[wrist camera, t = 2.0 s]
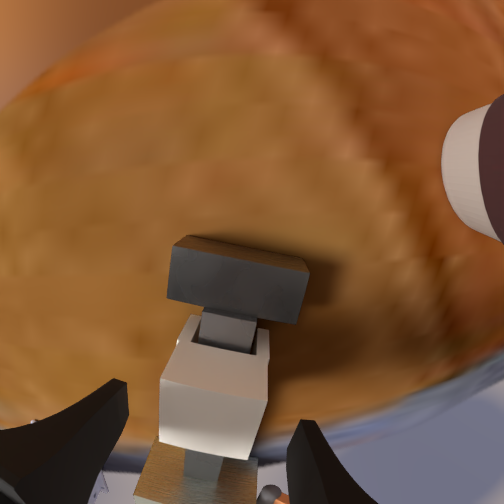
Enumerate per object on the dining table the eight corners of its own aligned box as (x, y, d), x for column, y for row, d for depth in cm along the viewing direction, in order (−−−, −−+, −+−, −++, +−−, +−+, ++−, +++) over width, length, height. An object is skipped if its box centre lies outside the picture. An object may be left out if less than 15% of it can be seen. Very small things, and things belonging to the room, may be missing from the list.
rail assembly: (254, 473, 19) (251, 531, 14) (156, 453, 19) (136, 507, 14) (325, 263, 15) (359, 311, 9) (168, 231, 15) (115, 262, 9)
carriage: (253, 386, 16) (249, 460, 11) (184, 372, 16) (157, 440, 11) (268, 329, 15) (270, 401, 10) (190, 314, 15) (157, 377, 10)
